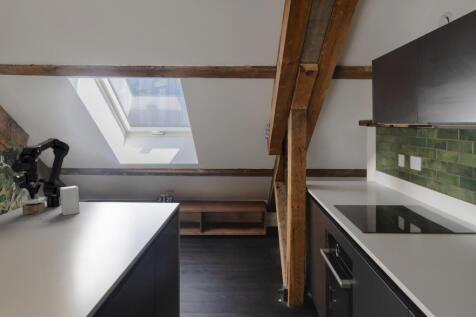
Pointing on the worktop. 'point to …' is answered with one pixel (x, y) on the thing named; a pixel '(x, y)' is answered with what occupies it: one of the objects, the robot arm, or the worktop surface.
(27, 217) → the mat
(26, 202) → the lid
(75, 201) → the skincare box
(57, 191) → the robot arm
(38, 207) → the box
